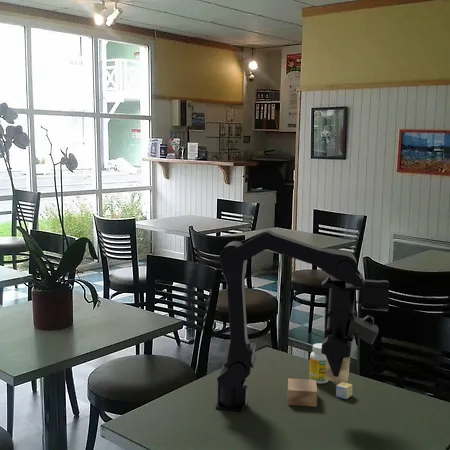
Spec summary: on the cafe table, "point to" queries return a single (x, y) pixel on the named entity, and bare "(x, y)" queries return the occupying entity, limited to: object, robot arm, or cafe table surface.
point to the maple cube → (343, 371)
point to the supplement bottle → (318, 364)
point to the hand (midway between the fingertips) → (336, 371)
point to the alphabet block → (344, 390)
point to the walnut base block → (302, 392)
